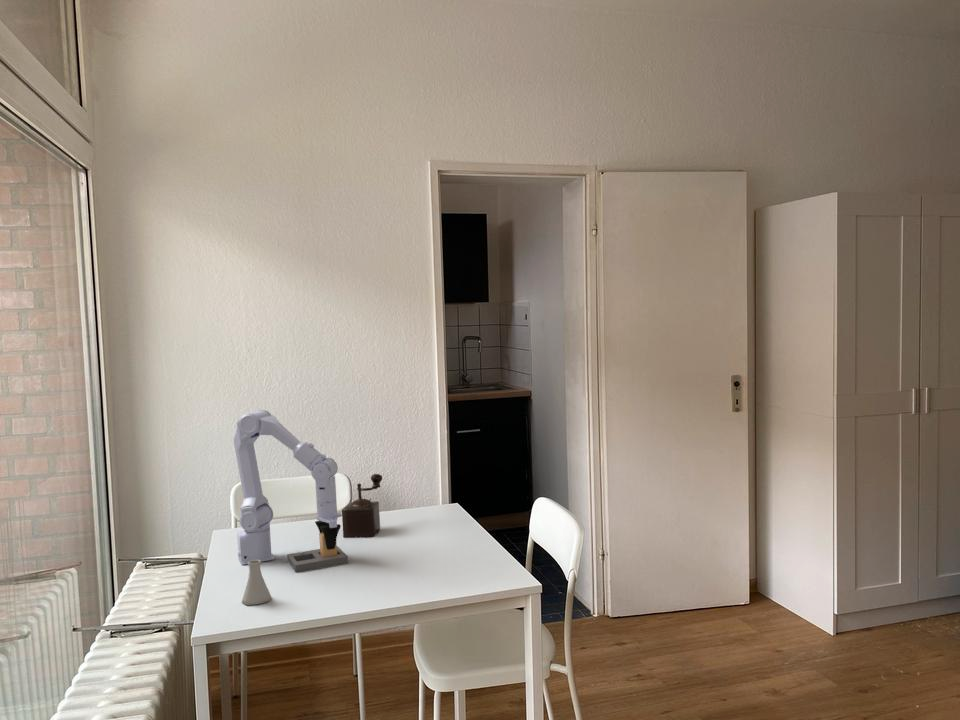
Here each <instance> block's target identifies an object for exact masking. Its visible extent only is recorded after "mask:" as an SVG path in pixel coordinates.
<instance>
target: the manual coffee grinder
mask: <svg viewBox="0 0 960 720" xmlns="http://www.w3.org/2000/svg"><path fill="white" fill-rule="evenodd" d="M382 480H383V475H381V474H380V473H373V474H372V475H371V476H370V481H371V482H372V487H365V488H362V484H361V483H357V484H356V486H357V488H356V490H357V492H358V494H357V495H358V499H356V500H354V501H352V502H349V503H347V505H345V506H344V507H343V508H342V509H341V518H342V519H341V521H342V537H343V538H346V539H347V538H350V539H353V538H354V539H355V538H374V537H375V536H376V535H377V534H378V533H379V532H380V531H381V520H380V519H381V518H380V517H381V515H380V514H381V513H380V502H379V501H371V500H372V498H369V499H367V498H363V497H362V492H367V491H373V490H377V489H378V488H381V485H380V484H381V482H382Z"/></svg>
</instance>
